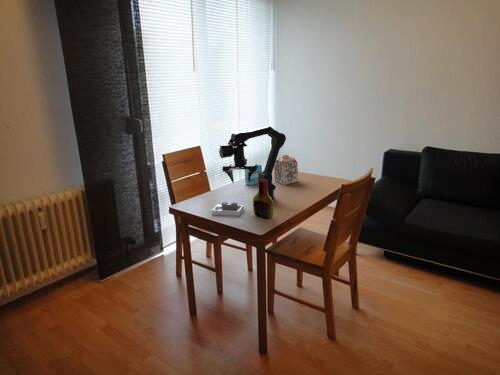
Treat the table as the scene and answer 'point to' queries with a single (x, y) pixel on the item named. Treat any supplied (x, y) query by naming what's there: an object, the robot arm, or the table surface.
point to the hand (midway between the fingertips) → (241, 182)
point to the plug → (228, 206)
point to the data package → (253, 175)
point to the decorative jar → (286, 170)
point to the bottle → (263, 201)
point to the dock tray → (227, 211)
